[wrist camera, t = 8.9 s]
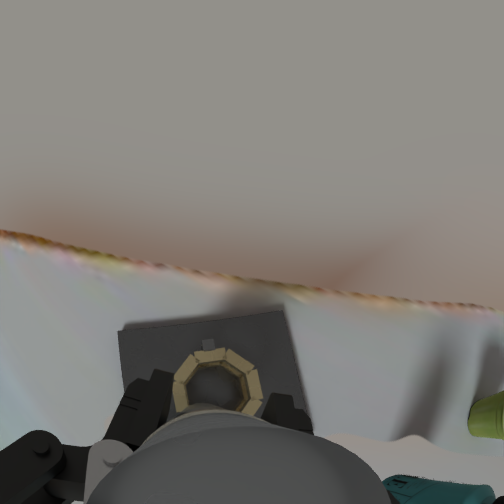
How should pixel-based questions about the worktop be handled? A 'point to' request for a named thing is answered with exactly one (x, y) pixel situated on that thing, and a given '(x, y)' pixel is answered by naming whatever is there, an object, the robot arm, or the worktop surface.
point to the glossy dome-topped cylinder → (237, 465)
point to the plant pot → (488, 417)
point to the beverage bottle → (438, 491)
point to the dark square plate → (216, 362)
